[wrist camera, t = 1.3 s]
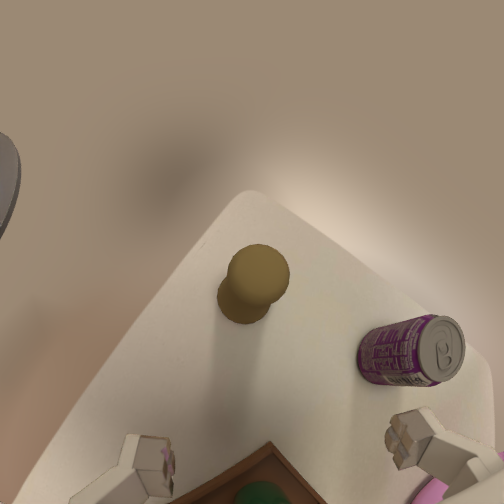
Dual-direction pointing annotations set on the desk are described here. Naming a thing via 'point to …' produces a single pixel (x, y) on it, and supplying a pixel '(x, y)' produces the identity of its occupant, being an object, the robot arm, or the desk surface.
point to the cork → (253, 283)
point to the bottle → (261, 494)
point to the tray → (254, 480)
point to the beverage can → (413, 352)
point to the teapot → (435, 490)
